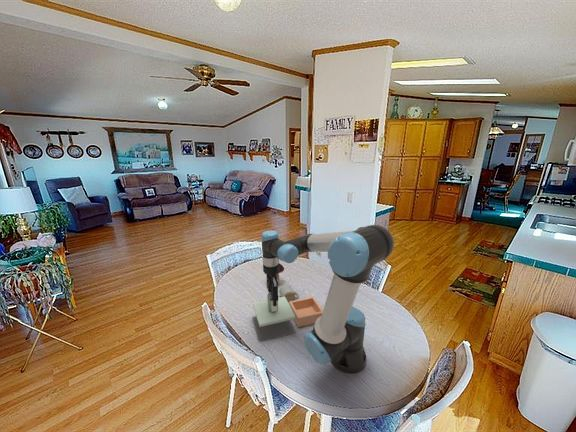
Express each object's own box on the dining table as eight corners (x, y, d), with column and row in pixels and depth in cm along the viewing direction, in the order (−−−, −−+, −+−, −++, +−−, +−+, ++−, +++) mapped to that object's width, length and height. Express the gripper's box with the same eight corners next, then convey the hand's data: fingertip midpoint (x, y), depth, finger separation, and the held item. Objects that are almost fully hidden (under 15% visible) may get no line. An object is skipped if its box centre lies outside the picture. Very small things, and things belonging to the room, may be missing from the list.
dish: (324, 322, 130) (324, 312, 129) (298, 328, 126) (298, 318, 125) (313, 305, 143) (313, 296, 141) (289, 311, 139) (289, 301, 137)
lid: (295, 318, 121) (295, 301, 118) (259, 326, 116) (258, 309, 113) (284, 298, 136) (284, 282, 134) (252, 304, 131) (251, 289, 129)
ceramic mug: (283, 304, 145) (283, 292, 142) (278, 296, 152) (278, 285, 150) (301, 300, 148) (301, 289, 146) (295, 293, 155) (295, 281, 153)
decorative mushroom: (287, 282, 166) (287, 261, 162) (278, 290, 158) (277, 268, 153) (273, 277, 172) (273, 257, 168) (263, 285, 163) (262, 264, 159)
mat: (296, 333, 123) (296, 332, 123) (259, 342, 118) (259, 341, 118) (285, 310, 140) (285, 309, 139) (252, 317, 134) (252, 316, 134)
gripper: (284, 271, 111) (285, 317, 118) (274, 254, 128) (275, 295, 135) (267, 274, 109) (269, 320, 116) (259, 256, 126) (261, 298, 132)
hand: (273, 307), depth 125 cm, fingers closed on lid, 5 cm apart
